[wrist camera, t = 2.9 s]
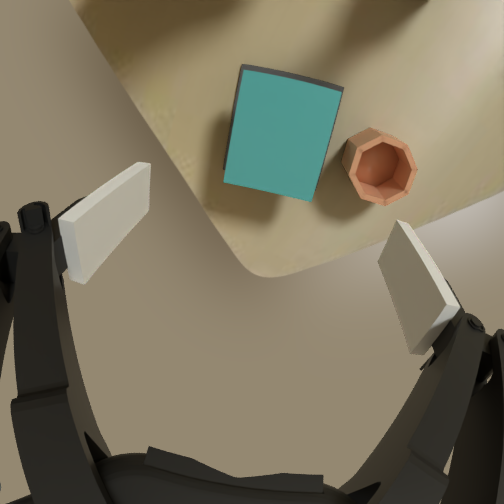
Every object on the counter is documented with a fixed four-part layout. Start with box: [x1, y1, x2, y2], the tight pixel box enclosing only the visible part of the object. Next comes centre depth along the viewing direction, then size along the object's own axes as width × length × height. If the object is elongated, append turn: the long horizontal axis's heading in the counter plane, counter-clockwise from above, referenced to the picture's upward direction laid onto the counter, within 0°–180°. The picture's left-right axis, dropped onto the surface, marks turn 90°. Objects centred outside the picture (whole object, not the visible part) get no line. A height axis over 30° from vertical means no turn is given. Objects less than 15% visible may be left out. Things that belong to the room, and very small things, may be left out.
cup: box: [341, 128, 418, 206], centre depth 36 cm, size 9×9×6 cm
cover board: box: [224, 70, 342, 202], centre depth 32 cm, size 11×14×2 cm
